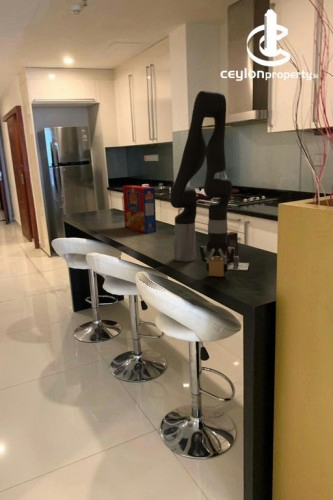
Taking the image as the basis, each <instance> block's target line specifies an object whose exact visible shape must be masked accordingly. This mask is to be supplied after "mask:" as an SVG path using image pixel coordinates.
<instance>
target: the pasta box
mask: <svg viewBox="0 0 333 500" xmlns="http://www.w3.org/2000/svg"><path fill="white" fill-rule="evenodd" d="M122 197H123V215H124V216H123V218H124V228H125V229H128V230H131V231H134V232H137V233H140V234H143V235H147V234H148V233H149V234H153V232H156V233H157V222H156V221H157V218H156V214H157V213H156V188H155V187H151V186H141V185H131V184H130V185H122Z"/></svg>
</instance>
